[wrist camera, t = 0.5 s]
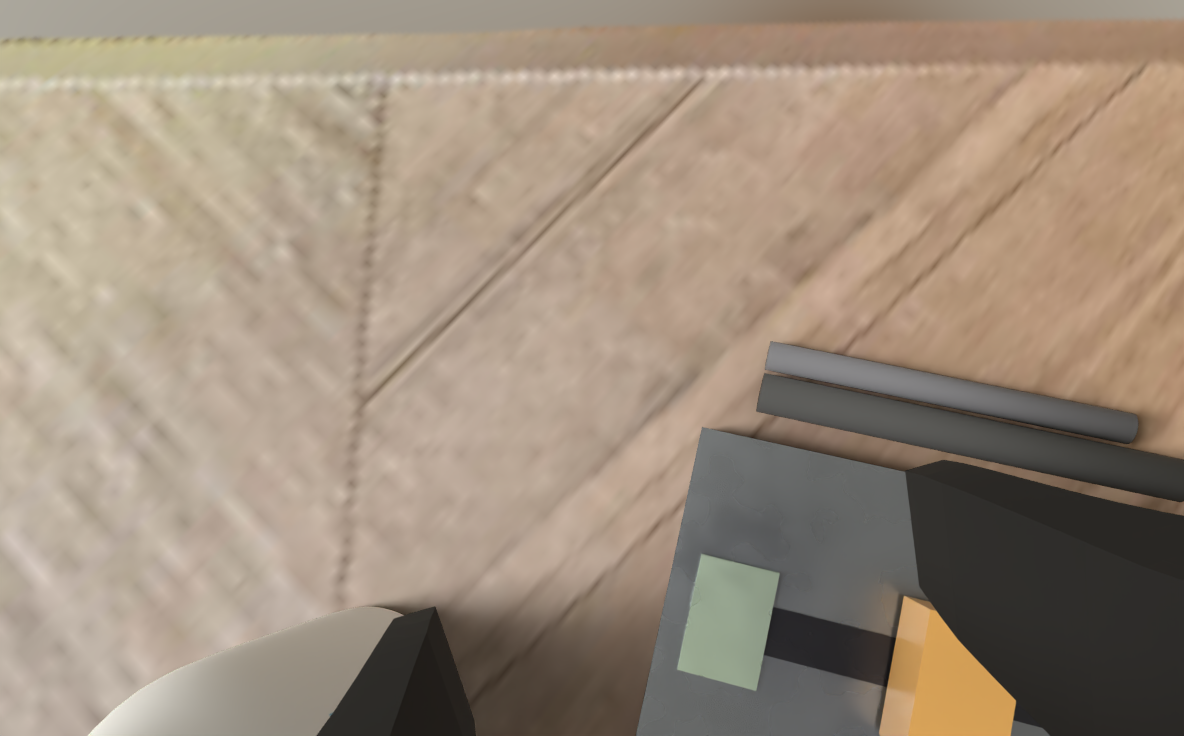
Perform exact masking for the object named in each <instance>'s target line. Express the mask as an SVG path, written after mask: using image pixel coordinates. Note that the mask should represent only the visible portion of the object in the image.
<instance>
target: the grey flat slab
mask: <svg viewBox="0 0 1184 736" xmlns="http://www.w3.org/2000/svg"><path fill="white" fill-rule="evenodd" d="M904 596H908V597H912V598H916V599H920V600H924V601H929V600H928V598H927V597H926V595H925V594H924V593H923V591H922V590H921V588H920V587H919V581H918V572H917V564H916V556H915V548H914V540H913V532H912V523H911V515H910V507H909V499H908V491H907V482H906V474H905V472H903V471H899V470H894V469H890V468H885V467H881V466H876V465H872V464H867V463H863V462H858V461H853V460H849V459H844V458H840V457H835V456H831V455H826V454H822V453H817V452H812V451H808V450H803V449H799V448H794V447H790V446H785V445H781V444H776V443H771V442H767V441H762V440H758V439H753V438H749V437H744V436H740V435H735V434H731V433H726V432H721V431H717V430H712V429H708V428H703V427H702V430H701V435H700V439H699V444H698V449H697V453H696V458H695V462H694V467H693V472H692V476H691V481H690V486H689V490H688V495H687V500H686V504H685V509H684V514H683V518H682V523H681V528H680V532H679V537H678V542H677V546H676V551H675V556H674V560H673V565H672V570H671V574H670V579H669V584H668V588H667V593H666V598H665V602H664V607H663V612H662V616H661V621H660V626H659V630H658V635H657V640H656V644H655V649H654V654H653V658H652V663H651V668H650V672H649V677H648V682H647V686H646V691H645V696H644V700H643V705H642V710H641V714H640V719H639V723H638V728H637V733H636V736H880V734H879V730H880V724H881V719H882V713H883V708H884V702H885V697H886V691H887V686H888V680H889V675H890V669H891V664H892V658H893V653H894V647H895V642H896V636H897V631H898V625H899V620H900V615H901V609H902V604H903V598H904ZM929 602H930V601H929ZM1011 736H1050V735H1049V734H1048V733H1047V732H1046V731H1045V730H1044V729H1043V728H1042V727H1041V726H1040V725H1039V724H1038V723H1037V722H1036V721H1035V720H1034V719H1033V718H1032V717H1031V715H1030V714H1029V713H1028V712H1027V711H1026V710H1025V709H1024V708H1023V707H1022V706H1021V705H1020V704H1019V703H1018V702H1017V701H1016V705H1015V711H1014V717H1013V723H1012V729H1011Z"/></svg>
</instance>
